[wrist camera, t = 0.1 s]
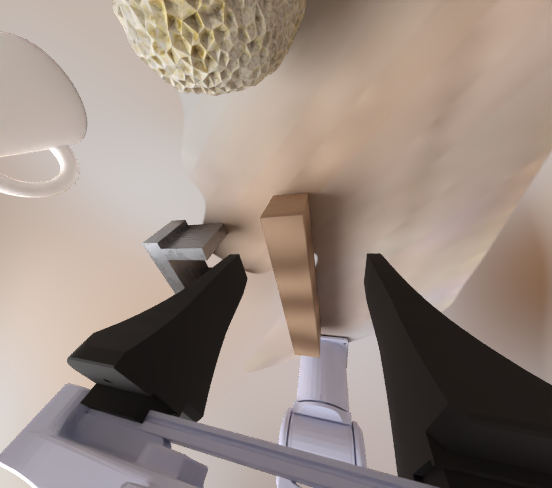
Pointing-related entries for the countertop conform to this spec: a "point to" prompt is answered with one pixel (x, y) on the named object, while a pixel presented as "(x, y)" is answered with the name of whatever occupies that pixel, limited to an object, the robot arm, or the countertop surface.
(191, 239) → the bracket
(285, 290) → the rail
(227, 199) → the countertop surface
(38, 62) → the mug
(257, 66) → the decorative item
